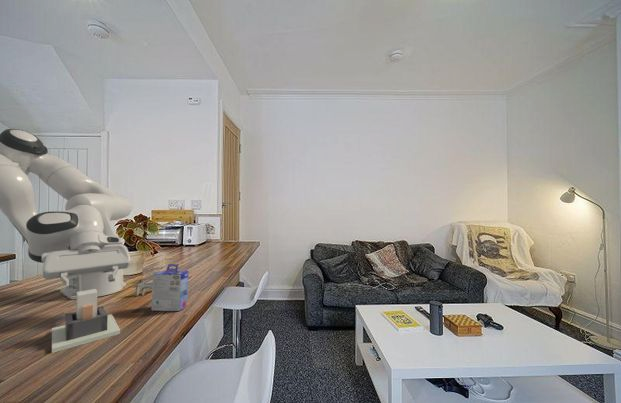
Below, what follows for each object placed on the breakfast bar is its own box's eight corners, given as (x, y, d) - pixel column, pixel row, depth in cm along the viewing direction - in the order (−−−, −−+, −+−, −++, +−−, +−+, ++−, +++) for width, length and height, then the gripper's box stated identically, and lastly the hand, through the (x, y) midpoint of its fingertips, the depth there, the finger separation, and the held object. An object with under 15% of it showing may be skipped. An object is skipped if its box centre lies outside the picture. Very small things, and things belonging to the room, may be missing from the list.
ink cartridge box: (188, 305, 89) (189, 263, 89) (180, 311, 83) (181, 267, 84) (160, 304, 89) (161, 263, 89) (150, 311, 84) (151, 267, 84)
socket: (51, 331, 70) (52, 313, 70) (111, 317, 79) (112, 301, 79) (51, 353, 60) (52, 331, 60) (120, 333, 69) (120, 315, 69)
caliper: (136, 297, 96) (137, 280, 96) (135, 296, 97) (135, 280, 97) (188, 284, 113) (188, 270, 113) (187, 283, 114) (187, 269, 114)
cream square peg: (75, 328, 69) (76, 292, 69) (95, 324, 72) (95, 288, 72) (76, 335, 66) (77, 296, 66) (97, 330, 69) (97, 293, 69)
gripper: (41, 244, 73) (40, 286, 66) (128, 237, 88) (134, 271, 81) (41, 257, 76) (40, 298, 69) (125, 249, 91) (131, 282, 84)
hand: (91, 284), depth 75 cm, fingers open, 8 cm apart
